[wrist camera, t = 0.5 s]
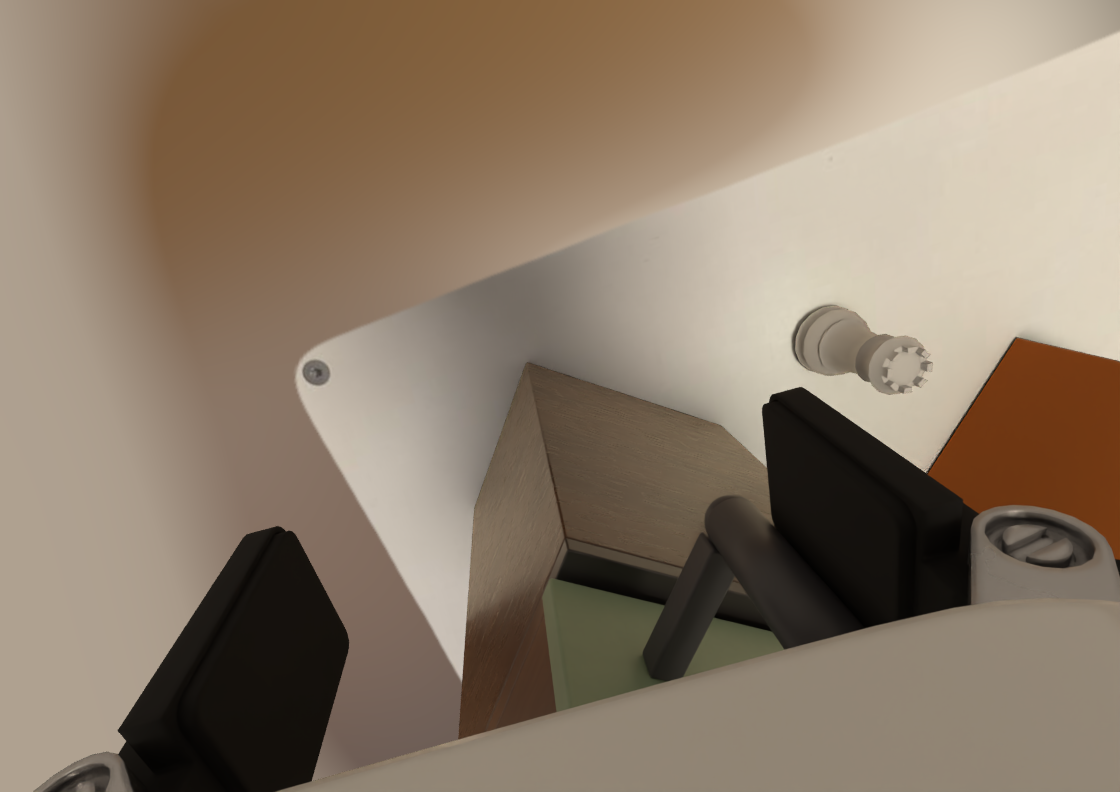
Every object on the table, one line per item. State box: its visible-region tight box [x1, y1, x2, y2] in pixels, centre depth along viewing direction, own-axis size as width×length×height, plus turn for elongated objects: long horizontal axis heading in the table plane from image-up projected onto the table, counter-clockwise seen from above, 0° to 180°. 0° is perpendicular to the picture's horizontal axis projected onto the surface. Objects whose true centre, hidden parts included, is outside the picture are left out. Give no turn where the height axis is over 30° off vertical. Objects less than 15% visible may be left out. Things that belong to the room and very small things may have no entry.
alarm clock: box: [928, 338, 1120, 560], centre depth 34 cm, size 15×8×14 cm, turn 156°
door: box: [542, 495, 865, 712], centre depth 11 cm, size 5×14×10 cm, turn 70°
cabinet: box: [458, 362, 775, 740], centre depth 23 cm, size 11×14×31 cm
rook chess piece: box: [795, 306, 933, 395], centre depth 32 cm, size 4×4×8 cm
